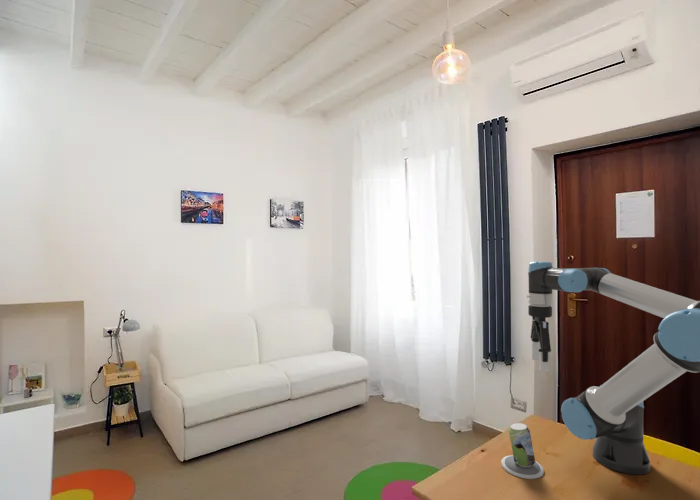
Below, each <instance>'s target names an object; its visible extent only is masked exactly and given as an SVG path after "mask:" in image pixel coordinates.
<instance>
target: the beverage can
mask: <svg viewBox="0 0 700 500" xmlns="http://www.w3.org/2000/svg"><path fill="white" fill-rule="evenodd" d="M508 433H509V438H510V445H511V452H512V455H513V457H514V462H515V463H516V464H518V465H519V466H521V467H530V466H532V465H533V464H534V463H535V461H536V458H535V453H534V448H533V442H532V441H533V440H532V436H531V430H530V429H529V427H528V425H526V424H525V423H523V422H513V423H511V424H510V426H509V429H508Z"/></svg>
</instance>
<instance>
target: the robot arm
mask: <svg viewBox="0 0 700 500" xmlns="http://www.w3.org/2000/svg"><path fill="white" fill-rule="evenodd" d="M527 275H528V295H526V298H528V304H529V305H528V313H527V314H528V316H530V317H532V322H531V323H532V324H531V330H530V335H529V336H530V339H531V360H532V361H539V371H541V372H550V353H551V351H552V349H551V339H550V329H549V325H550V323H549V322H548V321H546V319H547V318H551V317H552V316H553V306H552V305H553V290H554V291H561V292H567V293H581V292H583V291H590V292H591V291H592V292H595V293H597V294H600V295H603V296H605V297H608V298H609V299H610V298H611V299H613V300H616V301H617V302H620V303H623V304H626V305H628V306H631V307H633V308H636V309H639V310H641V311H644V312H646V313H649V314H651V315H654V316H657V317H659V318H663V319H662V320H661V322H659V325H658V328H657V330H658V331H657V332H656V333H654V335H653V339H652V340H653V344H652V345H650V347H648V348H647V349H645V350H644V351H643V352H642V353H641V354H639V355H638V356H637V357H636V358H634V359H633V360H631V361H630V362H628V364H627V365H625V366H624V367H622V369H621V370H619V371H618V372H616V373H615V374H614V375H613V376H611V377H610V378H609V379H608V380H607V381H605V382H603V384H600V385H599V386H595V385H593V386H592V385H591V386H590V387H588V388H586V390H584V391H583V392H582V393H580V394H579V395H577V396H575V397H569V398H567V399H565V400H564V401H563V402H562V403H561V408H560V412H561V418H562V421H563V423H564V425H565V427H566V428H567V430H568V431H569V432H570V433H571V434H572V435H574V436H575V437H577V438H578V439H581V440H591V441H592V440H595V441H594V443H593V445H592V457H593V458H594V460H595V461H597V462H598V463H599V464H601V465H603V466H604V467H606V468H608V469H610V470H612V471H616V472H620V473H624V474H628V475H635V476H636V475H638V476H639V475H645V474H648V473H650V472H651V460H650V456H649V454H648V451H647V449H646V445H645V443H644V420H645V419H644V418H645V417H644V416H645V415H644V413H645V412H644V411H645V405H644V401H646V400H647V399H648V398H650V397H651V396H652V395H654V394H655V393H657V392H659V391H660V390H661V389H663V388H664V387H666V386H667V385H669V384H670V383H672V382H673V381H674V380H677V378H679V377H680V376H682V375H684V374H685V373H687V372H689V373H695V374H696V373H697V374H698V373H700V300H695V299H693V298H689V297H686V296H683V295H679V294H676V293H674V292H671V291H667V290H664V289H660V288H658V287H654V286H651V285H649V284H646V283H641V282H639V281H635V280H633V279H630V278H627V277H623V276H621V275H617V274H615V273H612V272H611V271H610V270H609V269H607V268H603V267H598V266H597V267H579V268H578V267H576V268H575V267H573V268H572V267H571V268H567V267H566V268H565V267H564V268H563V267H562V268H561V267H553V263H552V262H551V261H530V262H529V263H528V273H527Z"/></svg>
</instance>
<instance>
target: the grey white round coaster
mask: <svg viewBox="0 0 700 500" xmlns="http://www.w3.org/2000/svg"><path fill="white" fill-rule="evenodd" d="M500 465H501V467H502V469H504V471H505V472H507V473H509V475H512V476H515V477H516V478H521V479H527V480H535V479H539V478H541V477H543V476H544V472H545V470H544V467H543V466H542V464H540V463H539V462H538V461H536V460H535V463H534V464H533V465H532V466H530V467H521V466H519V465H518V464H516V463H515V462H514V457H513V454H512V455H506V456H503V458H502V459H501V462H500Z"/></svg>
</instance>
